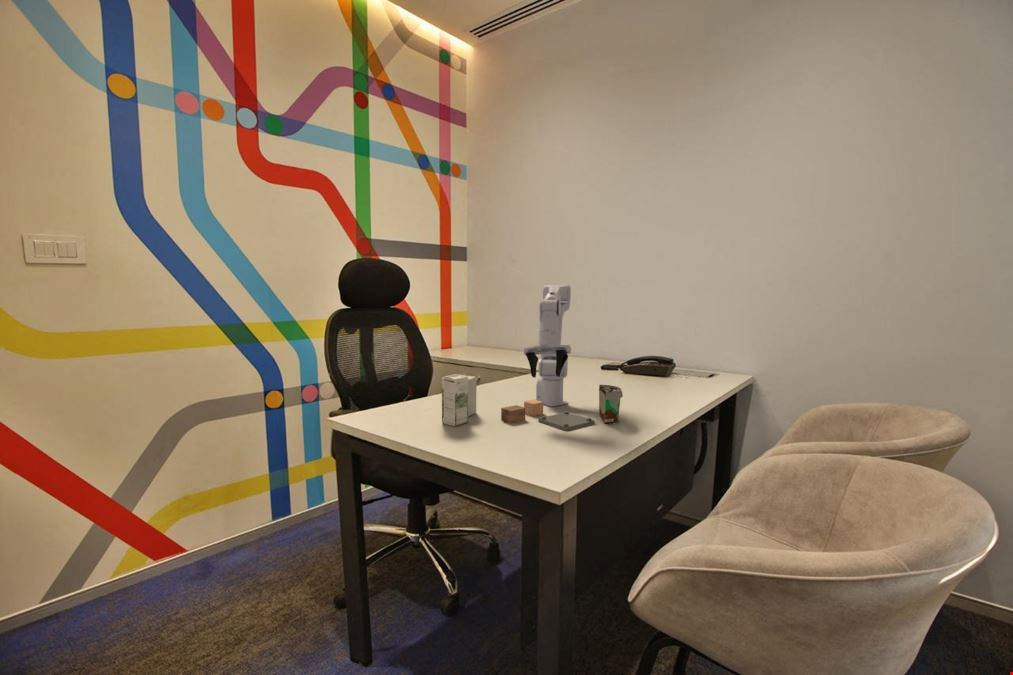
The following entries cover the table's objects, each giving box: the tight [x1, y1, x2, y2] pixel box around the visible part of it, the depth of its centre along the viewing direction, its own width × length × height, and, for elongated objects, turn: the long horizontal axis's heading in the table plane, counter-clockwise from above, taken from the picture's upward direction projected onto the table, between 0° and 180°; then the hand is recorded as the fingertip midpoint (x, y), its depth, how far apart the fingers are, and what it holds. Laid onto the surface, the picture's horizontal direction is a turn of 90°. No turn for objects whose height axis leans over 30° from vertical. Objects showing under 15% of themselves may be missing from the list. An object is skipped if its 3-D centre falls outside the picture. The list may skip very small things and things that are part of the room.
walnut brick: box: [500, 404, 526, 424], centre depth 150 cm, size 4×6×4 cm
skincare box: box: [466, 375, 477, 418], centre depth 156 cm, size 6×4×12 cm
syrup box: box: [441, 373, 469, 427], centre depth 146 cm, size 6×6×14 cm
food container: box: [598, 384, 624, 425], centre depth 149 cm, size 12×6×10 cm, turn 179°
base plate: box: [537, 410, 596, 432], centre depth 147 cm, size 12×12×2 cm
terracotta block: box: [523, 399, 544, 417], centre depth 158 cm, size 4×4×4 cm
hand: (545, 376), depth 146 cm, fingers open, 7 cm apart
